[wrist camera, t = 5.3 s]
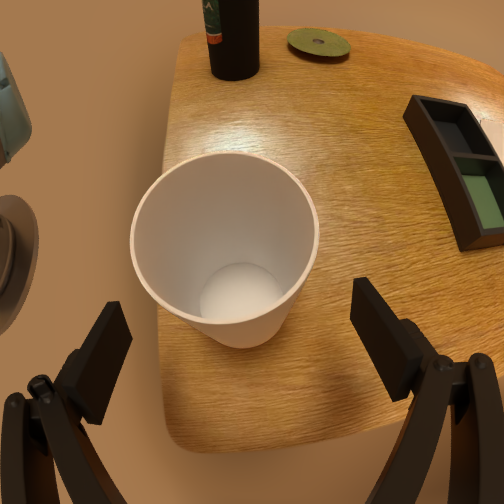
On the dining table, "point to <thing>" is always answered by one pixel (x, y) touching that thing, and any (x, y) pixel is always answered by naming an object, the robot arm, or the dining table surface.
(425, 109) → the holder
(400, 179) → the dining table surface
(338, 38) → the mat
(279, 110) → the dining table surface
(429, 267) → the dining table surface
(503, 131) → the plate
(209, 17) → the wine bottle
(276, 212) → the cup
